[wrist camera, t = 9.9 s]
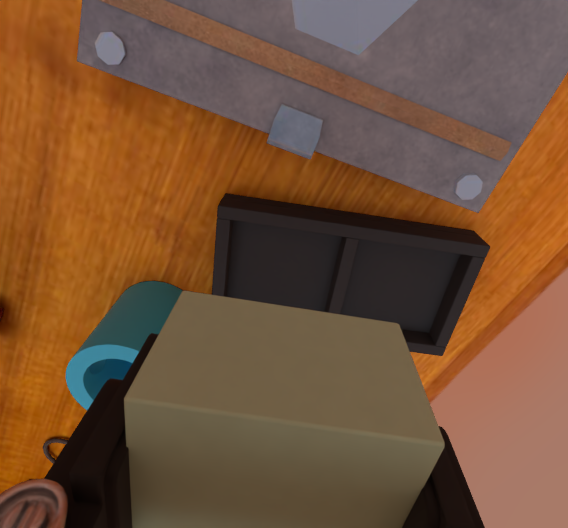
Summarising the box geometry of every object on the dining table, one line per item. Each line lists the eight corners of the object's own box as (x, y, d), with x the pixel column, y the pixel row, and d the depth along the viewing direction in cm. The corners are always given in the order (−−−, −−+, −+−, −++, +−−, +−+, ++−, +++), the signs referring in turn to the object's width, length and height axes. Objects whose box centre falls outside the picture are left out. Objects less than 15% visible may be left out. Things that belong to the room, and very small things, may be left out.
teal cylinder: (211, 296, 28) (185, 363, 22) (177, 405, 33) (149, 484, 27) (123, 269, 27) (70, 330, 21) (103, 385, 33) (56, 461, 26)
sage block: (182, 289, 10) (122, 398, 6) (399, 322, 10) (447, 445, 7) (176, 438, 12) (131, 571, 9) (349, 462, 12) (366, 600, 9)
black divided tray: (216, 303, 28) (209, 324, 26) (225, 192, 24) (217, 205, 22) (431, 334, 29) (442, 356, 27) (474, 230, 25) (490, 246, 23)
